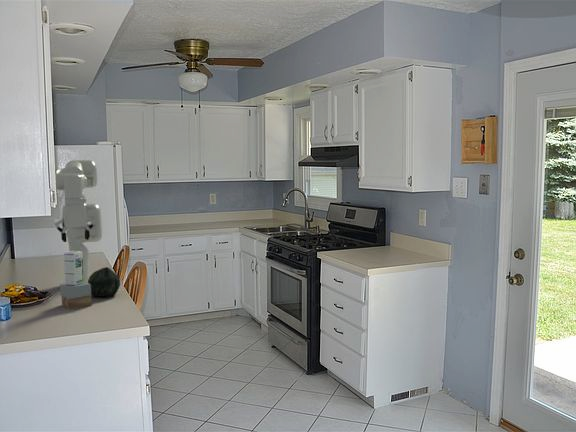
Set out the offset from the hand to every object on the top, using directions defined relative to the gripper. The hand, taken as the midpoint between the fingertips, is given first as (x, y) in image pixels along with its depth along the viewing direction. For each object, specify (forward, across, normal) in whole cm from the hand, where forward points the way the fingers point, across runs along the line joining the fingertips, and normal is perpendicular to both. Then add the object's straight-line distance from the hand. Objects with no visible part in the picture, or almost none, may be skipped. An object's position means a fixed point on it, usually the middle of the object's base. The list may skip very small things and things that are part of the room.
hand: (75, 240), depth 235 cm
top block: (+24, +1, 0) cm, 25 cm away
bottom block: (+30, +1, 0) cm, 30 cm away
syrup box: (+20, +2, 0) cm, 20 cm away
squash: (+30, -15, -9) cm, 34 cm away
